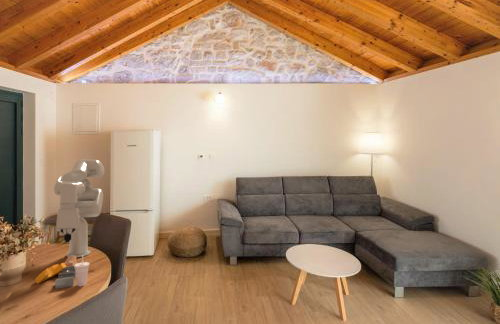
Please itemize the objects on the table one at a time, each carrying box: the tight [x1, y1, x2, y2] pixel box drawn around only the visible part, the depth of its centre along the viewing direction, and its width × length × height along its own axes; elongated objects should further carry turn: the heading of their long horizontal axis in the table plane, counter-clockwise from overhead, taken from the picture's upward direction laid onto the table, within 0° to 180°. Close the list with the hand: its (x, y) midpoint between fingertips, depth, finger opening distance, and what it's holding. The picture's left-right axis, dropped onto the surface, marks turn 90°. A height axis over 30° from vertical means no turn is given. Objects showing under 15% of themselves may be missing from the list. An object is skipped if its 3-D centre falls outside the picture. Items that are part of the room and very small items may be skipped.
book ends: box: [54, 266, 76, 289], centre depth 147 cm, size 17×7×4 cm, turn 26°
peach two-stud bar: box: [64, 256, 77, 267], centre depth 163 cm, size 12×4×5 cm, turn 22°
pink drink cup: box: [74, 255, 90, 287], centre depth 143 cm, size 6×6×14 cm
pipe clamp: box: [34, 262, 67, 284], centre depth 149 cm, size 12×4×6 cm
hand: (67, 241), depth 158 cm, fingers closed
